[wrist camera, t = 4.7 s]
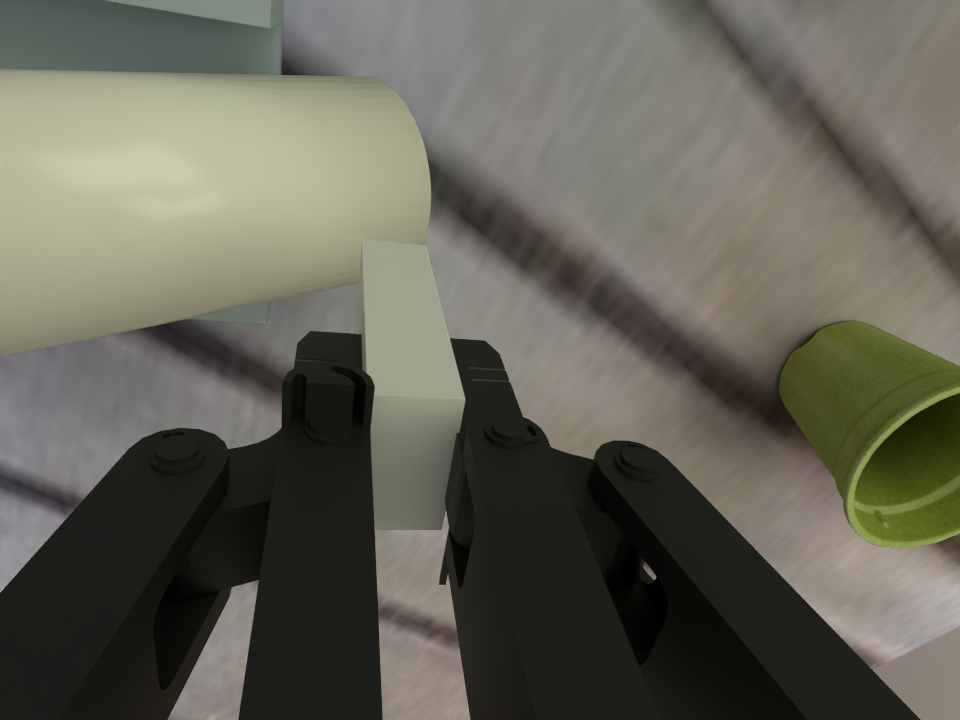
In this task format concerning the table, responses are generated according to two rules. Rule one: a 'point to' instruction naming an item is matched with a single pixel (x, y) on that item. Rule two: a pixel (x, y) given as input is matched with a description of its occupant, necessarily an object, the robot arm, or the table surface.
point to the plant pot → (881, 430)
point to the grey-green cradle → (147, 48)
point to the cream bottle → (192, 194)
